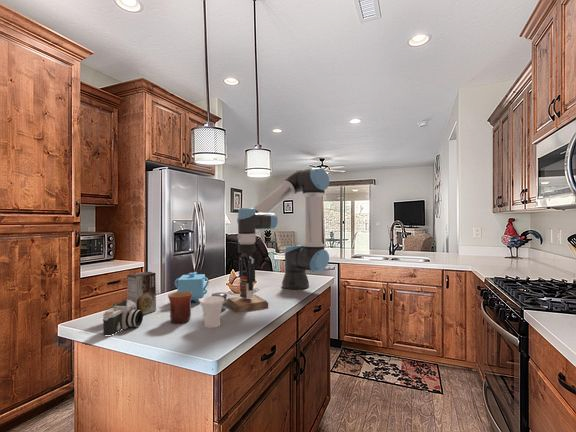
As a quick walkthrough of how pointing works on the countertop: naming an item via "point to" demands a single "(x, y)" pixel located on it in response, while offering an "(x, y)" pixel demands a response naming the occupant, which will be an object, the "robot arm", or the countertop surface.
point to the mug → (180, 306)
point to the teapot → (193, 285)
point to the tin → (224, 295)
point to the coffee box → (142, 291)
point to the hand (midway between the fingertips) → (246, 295)
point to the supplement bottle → (243, 284)
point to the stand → (246, 303)
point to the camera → (121, 317)
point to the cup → (211, 310)
